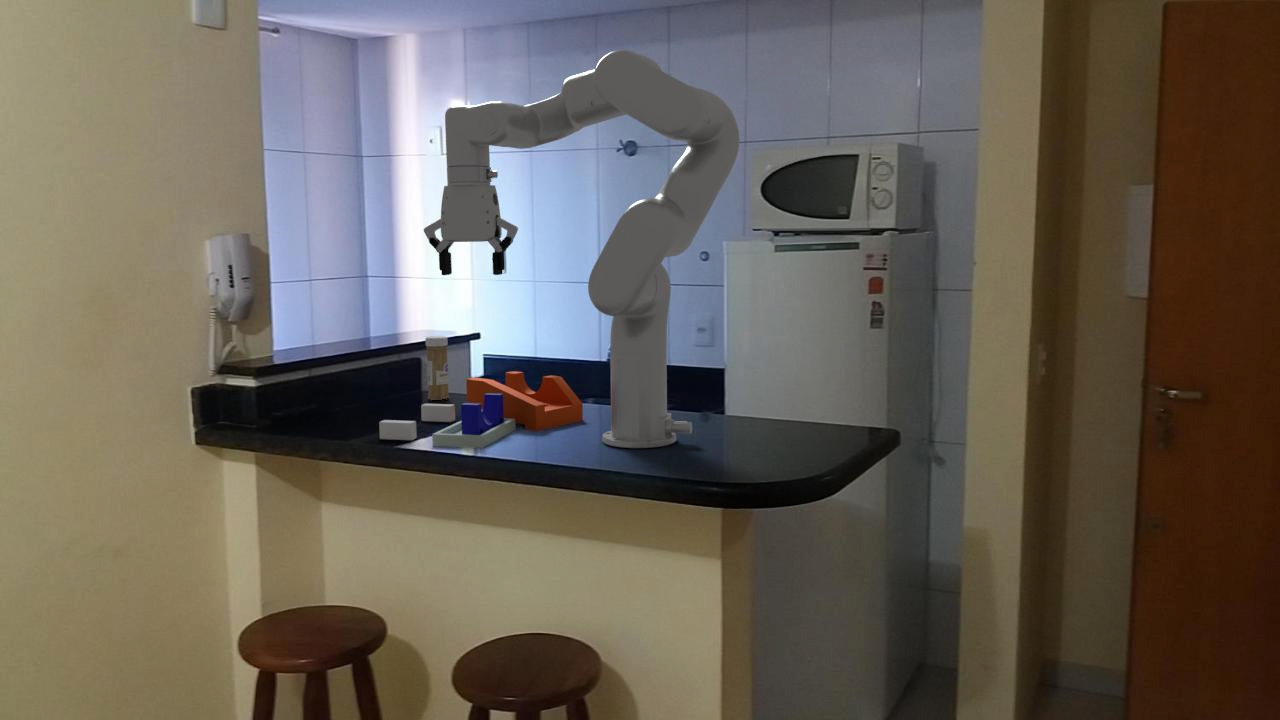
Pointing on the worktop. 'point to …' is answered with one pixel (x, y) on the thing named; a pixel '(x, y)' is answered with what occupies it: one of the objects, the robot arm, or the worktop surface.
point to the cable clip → (482, 415)
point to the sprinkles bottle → (437, 367)
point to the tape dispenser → (530, 400)
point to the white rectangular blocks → (408, 428)
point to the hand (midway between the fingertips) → (472, 274)
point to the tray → (456, 439)
